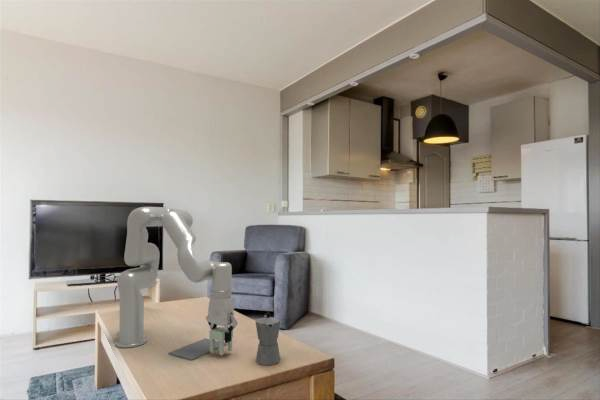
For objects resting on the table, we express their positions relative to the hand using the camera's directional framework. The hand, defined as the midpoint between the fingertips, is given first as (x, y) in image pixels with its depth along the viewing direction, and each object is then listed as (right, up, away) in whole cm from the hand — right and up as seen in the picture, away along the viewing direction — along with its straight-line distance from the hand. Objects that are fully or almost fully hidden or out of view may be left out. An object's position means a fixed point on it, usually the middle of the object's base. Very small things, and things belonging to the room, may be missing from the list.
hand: (221, 339), depth 147 cm
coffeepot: (+19, -6, -6) cm, 20 cm away
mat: (-10, -6, +6) cm, 13 cm away
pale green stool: (0, -4, 0) cm, 4 cm away
